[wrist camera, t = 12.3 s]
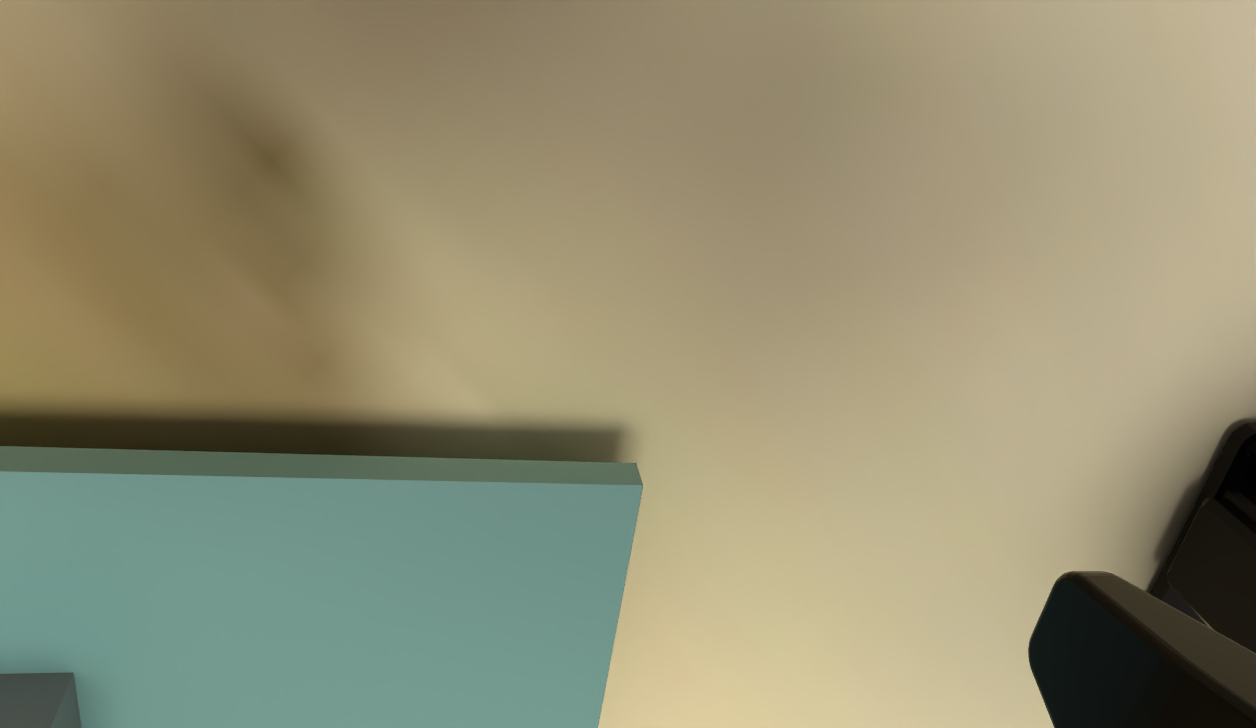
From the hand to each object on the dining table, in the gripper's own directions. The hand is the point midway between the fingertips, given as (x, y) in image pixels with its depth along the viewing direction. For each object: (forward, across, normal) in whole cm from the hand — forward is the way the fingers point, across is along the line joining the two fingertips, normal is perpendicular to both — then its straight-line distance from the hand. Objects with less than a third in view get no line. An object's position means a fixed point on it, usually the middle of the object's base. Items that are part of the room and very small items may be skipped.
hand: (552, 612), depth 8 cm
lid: (+12, +4, +12) cm, 17 cm away
